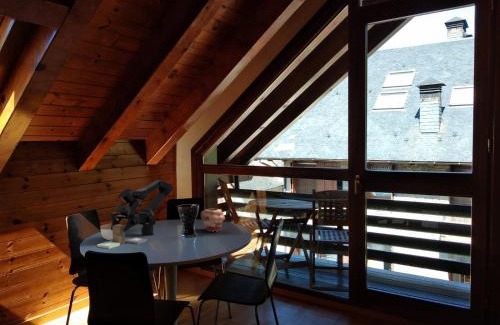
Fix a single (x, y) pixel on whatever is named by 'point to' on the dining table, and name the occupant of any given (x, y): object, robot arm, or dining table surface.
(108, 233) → the lidded jar
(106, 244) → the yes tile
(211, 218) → the decorative planter
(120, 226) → the walnut block
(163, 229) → the dining table surface
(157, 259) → the dining table surface
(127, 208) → the robot arm
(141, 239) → the tile
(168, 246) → the dining table surface
